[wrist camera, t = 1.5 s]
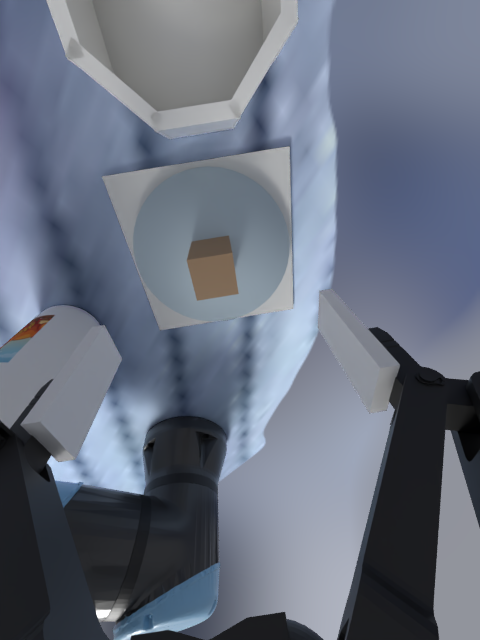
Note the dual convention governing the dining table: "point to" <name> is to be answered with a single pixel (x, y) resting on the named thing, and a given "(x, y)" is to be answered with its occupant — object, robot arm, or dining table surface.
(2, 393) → the milk bottle
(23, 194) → the dining table surface
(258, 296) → the lid
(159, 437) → the robot arm
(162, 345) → the dining table surface
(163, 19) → the bowl
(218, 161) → the mat
